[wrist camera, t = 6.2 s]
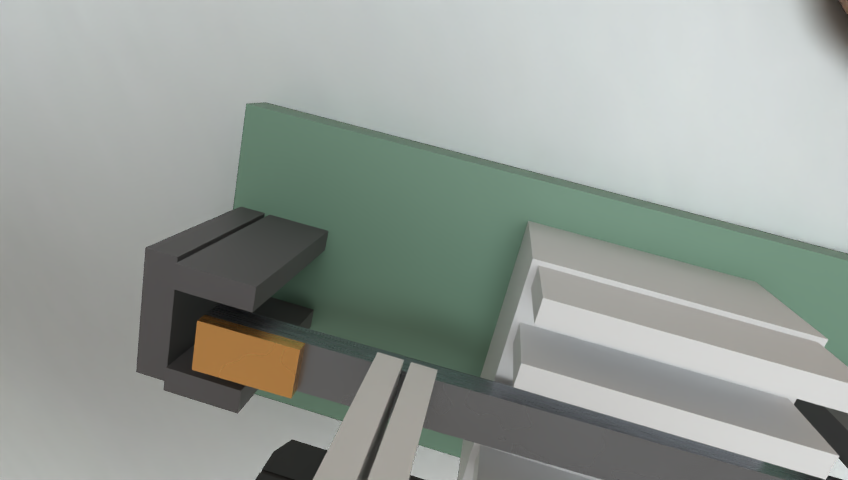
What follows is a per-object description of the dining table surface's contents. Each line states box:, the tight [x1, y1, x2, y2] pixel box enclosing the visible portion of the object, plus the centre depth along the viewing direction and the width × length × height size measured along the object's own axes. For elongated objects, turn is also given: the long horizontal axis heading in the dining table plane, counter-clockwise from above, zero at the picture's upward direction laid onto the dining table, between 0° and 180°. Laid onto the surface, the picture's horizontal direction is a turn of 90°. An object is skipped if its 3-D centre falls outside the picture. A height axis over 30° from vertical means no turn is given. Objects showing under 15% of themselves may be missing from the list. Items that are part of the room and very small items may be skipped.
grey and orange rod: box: [192, 304, 842, 480], centre depth 15 cm, size 20×2×2 cm, turn 77°
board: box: [136, 103, 848, 480], centre depth 18 cm, size 24×12×8 cm, turn 76°
